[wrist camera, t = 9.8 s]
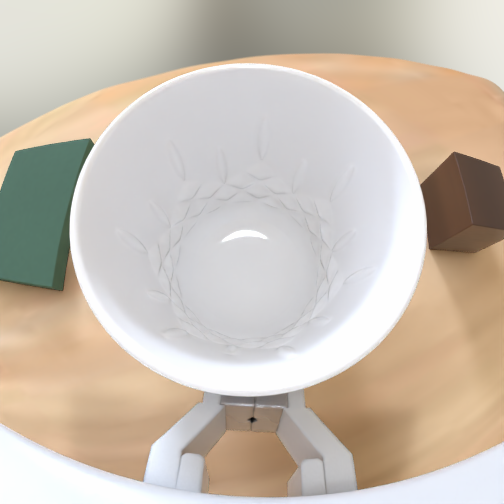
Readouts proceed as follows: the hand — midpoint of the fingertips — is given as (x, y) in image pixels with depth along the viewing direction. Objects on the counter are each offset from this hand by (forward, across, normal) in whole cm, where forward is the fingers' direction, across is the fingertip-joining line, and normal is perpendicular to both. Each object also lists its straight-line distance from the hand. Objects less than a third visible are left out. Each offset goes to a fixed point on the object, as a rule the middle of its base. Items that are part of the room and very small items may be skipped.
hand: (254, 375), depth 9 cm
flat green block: (+9, -16, +2) cm, 18 cm away
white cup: (+7, 0, -1) cm, 7 cm away
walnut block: (+10, +13, +3) cm, 16 cm away
